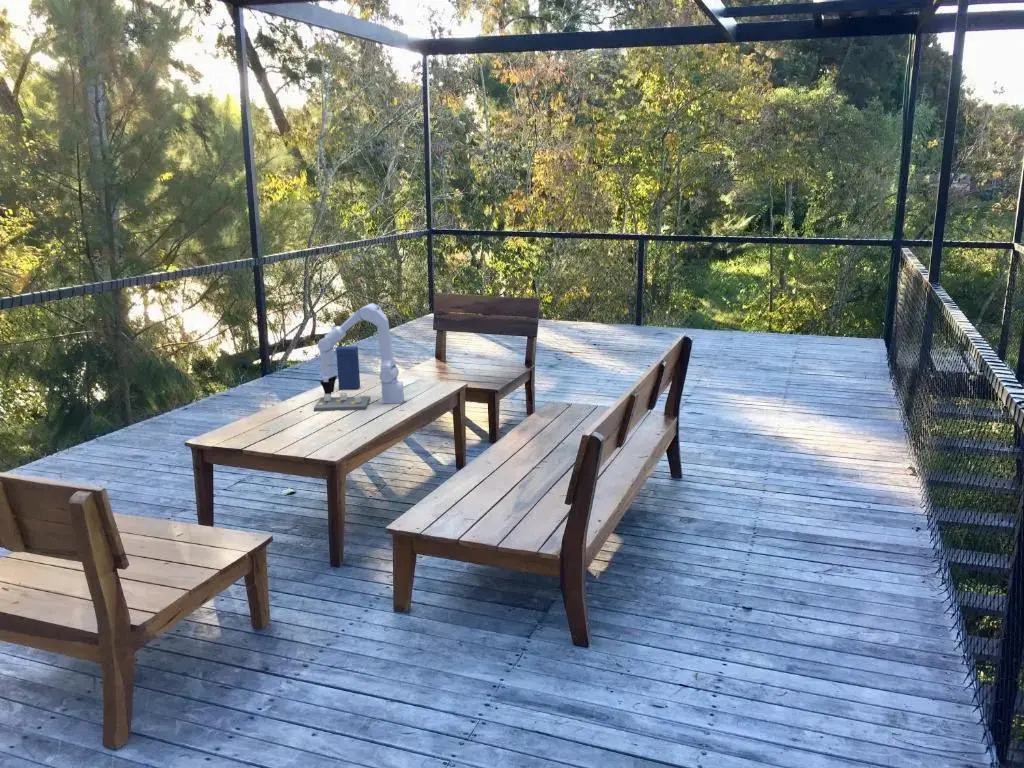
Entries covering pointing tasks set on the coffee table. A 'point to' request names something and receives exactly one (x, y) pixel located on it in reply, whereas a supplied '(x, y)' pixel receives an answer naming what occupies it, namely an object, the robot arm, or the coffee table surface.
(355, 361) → the electronic device
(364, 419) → the coffee table surface
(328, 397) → the switch
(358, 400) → the switch
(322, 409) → the switch panel
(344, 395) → the switch
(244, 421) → the coffee table surface
